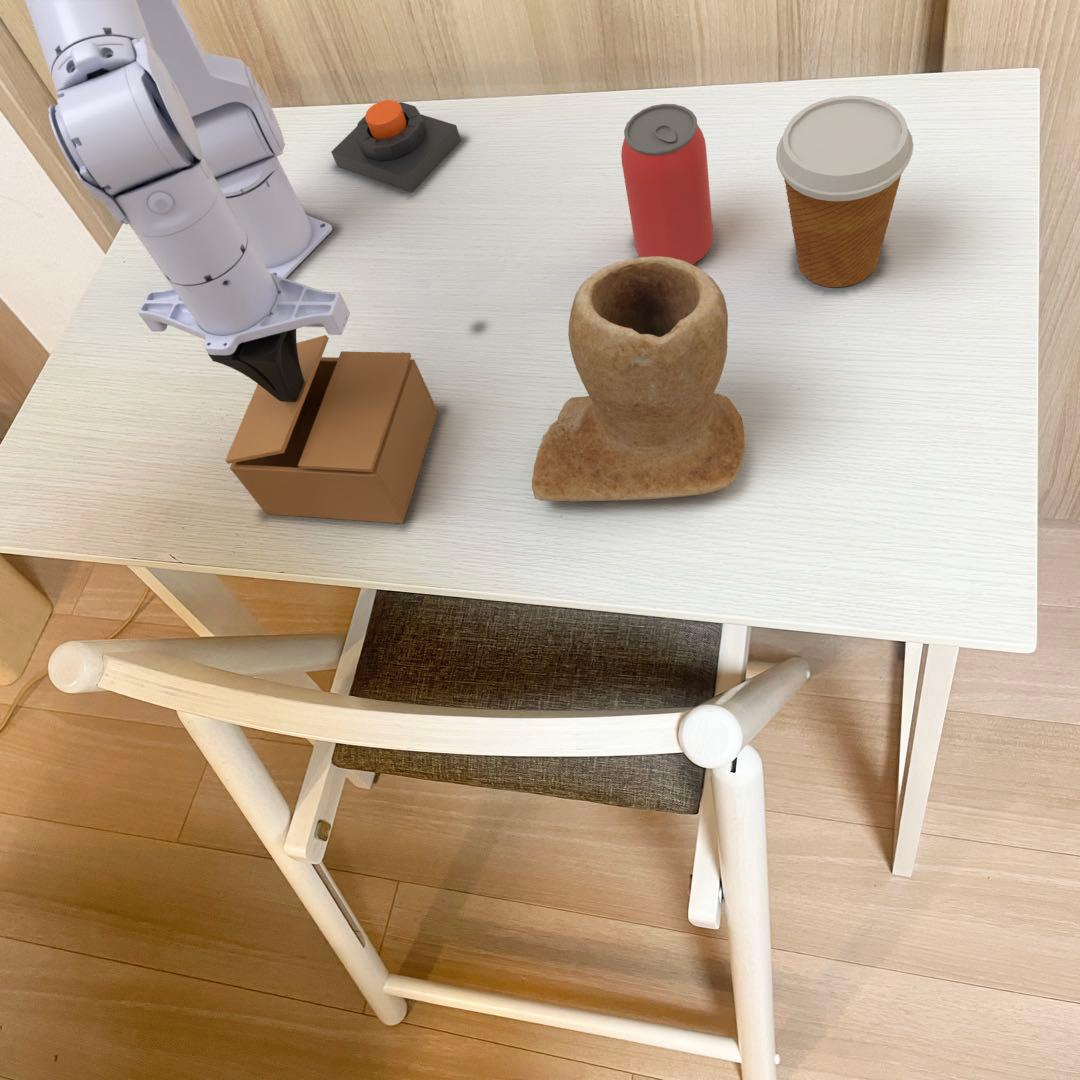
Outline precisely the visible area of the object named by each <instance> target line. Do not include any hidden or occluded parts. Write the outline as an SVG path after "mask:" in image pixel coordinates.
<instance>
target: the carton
mask: <svg viewBox="0 0 1080 1080" xmlns="http://www.w3.org/2000/svg"><path fill="white" fill-rule="evenodd" d="M432 397H433V396H432V395H431V392H430V390H429V388H428V386H427V384H426V382H425V380H424V377H423V375H422V373H421V371H420V369H419V367H418V364H417V362H416V360H415V359H413V358H412V355H411V352H390V351H389V352H387V351H385V352H384V351H348V350H347V351H346V350H345V351H343V350H341V351H340V353H339V356H338V357H333V356H332V357H329V356H328V357H326V356H322V357H321V360H320V362H319V365H318V367H317V370H316V373H315V375H314V378H313V380H312V383H311V385H310V388H309V391H308V393H307V396H306V398H305V401H304V403H303V406H302V408H301V411H300V414H299V416H298V419H297V421H296V424H295V426H294V429H293V431H292V434H291V437H290V439H289V442H288V444H287V447H286V449H285V452H284V453H281V454H276V455H271V456H266V457H261V458H256V459H251V460H245V461H240V462H235V463H230V466H229V469H230V470H231V472H232V473H233V474H234V475H235V477H236V479H238V480H239V482H240V483H241V484H242V486H243V487H244V488H245V489H246V490H247V492H248V493H249V494H250V495H251V497H252V498H253V499H254V501H255V502H256V504H257V505H258V506H259V507H260V508H261V509H262V511H263V512H264V513H265V514H266V515H273V516H274V515H275V516H277V515H278V516H287V517H288V516H289V517H302V518H303V517H305V518H315V519H316V518H318V519H333V520H344V521H359V522H374V523H388V524H401V525H402V524H404V522H405V519H406V515H407V513H408V509H409V506H410V503H411V500H412V496H413V494H414V491H415V487H416V484H417V481H418V477H419V474H420V471H421V467H422V465H423V464H422V463H423V461H424V458H425V455H426V451H427V449H428V444H429V442H430V438H431V436H432V432H433V428H434V426H435V422H436V420H437V415H438V412H439V410H438V408H437V406H436V404H435V402H434V400H433V398H432Z"/></svg>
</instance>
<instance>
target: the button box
mask: <svg viewBox="0 0 1080 1080" xmlns="http://www.w3.org/2000/svg"><path fill="white" fill-rule="evenodd" d="M397 102H398V101H397ZM398 103H399V104H400V105H401V108H402V110H403V113H404V116H405V119H406V122H407V125H406V128H405V129H404V130H403V131H402V132H401V133H400V134H398V135H396V136H394V137H392V138H387V139H376V138H374V137H373V136H372V134H371V132H370V129H369V127H368V124H367V122H366V119H365V115H364V116H363V117H362V118H361V119H360V120H359V121H358V122H357V125H356V127H355V128H354V129H353V130H352V131H351V132H349V133H348V135H346V136H345V137H344V138H343V139H342V140H341V141H340V142H339V144H337V145H336V146H335V147H334V148H333V149H332V150H331V151H330V153H331V155H332V157H333V160H334V162H335V164H336V166H337V168H339V169H342V170H344V171H345V170H346V171H348V172H351V173H354V174H356V175H359V176H362V177H365V178H368V179H371V180H374V181H376V182H380V183H382V184H385V185H387V186H391V187H393V188H396V189H399V190H402V191H404V192H407V193H411V194H412V193H413V192H414V191H416V189H417V188H418V187H419V186H420V185H421V184H422V182H423V181H425V180H426V178H428V177H429V175H430V174H431V173H432V172H433V171H434V170H435V169H436V168H438V166H439V165H440V164H441V163H442V162H443V161H444V159H445V158H447V156H449V154H451V152H452V151H453V150H455V148H456V147H457V146H459V144H460V143H461V142H462V138H461V136H460V135H461V134H460V132H459V130H458V126H457V124H454V123H451V122H447V121H444V120H441V119H437V118H434V117H431V116H429V115H424V114H421V113H420V111H419V109H418V108H417V107H416V106H415V105H413V104H410V103H405V102H402V101H400V102H398Z"/></svg>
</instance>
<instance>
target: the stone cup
mask: <svg viewBox="0 0 1080 1080" xmlns="http://www.w3.org/2000/svg"><path fill="white" fill-rule="evenodd" d="M728 327H729V314H728V309H727V303H726V299H725V296H724V293H723V291H722V290H721V288H720V286H719V285H718V284H717V282H716V281H715V280H714V278H713V277H711V275H709V274H707V273H706V272H705V271H704V270H703V269H701V268H700V267H698V266H696V265H695V264H693V265H692V264H690V263H688V262H686V261H682V260H679V259H675V258H671V257H662V256H654V257H639V256H638V257H633V258H628V259H627V258H626V259H623V260H620V261H617V262H614V263H612V264H609V265H607V266H604V267H602V268H600V269H598V270H597V271H596V272H594V273H593V274H592V275H590V276H589V277H587V278H586V279H585V280H584V282H583V283H582V284H581V285H580V286H579V287H578V289H577V291H576V293H575V295H574V298H573V302H572V306H571V310H570V315H569V320H568V331H567V335H568V342H569V349H570V352H571V353H570V354H571V356H572V360H573V363H574V365H575V369H576V371H577V374H578V376H579V378H580V380H581V383H582V384H583V387H584V389H585V391H586V392H587V394H588V395H584V396H574V397H570V398H569V399H567V401H566V402H564V403H563V405H562V408H561V410H560V411H559V414H558V415H557V419H556V420H555V421H554V422H553V423H552V424H550V426H549V427H548V429H547V431H546V432H545V433H544V434H543V435H542V439H541V442H540V444H539V448H538V451H537V454H536V459H535V461H534V465H533V472H532V478H531V480H532V481H531V489H532V493H533V497H534V499H535V500H537V501H539V502H540V501H543V502H544V501H546V502H602V501H603V502H605V501H607V502H609V501H634V500H654V499H655V500H656V499H669V498H680V497H689V496H699V495H706V494H710V493H714V492H717V491H721V490H724V489H726V488H727V487H729V486H731V485H732V484H733V483H734V482H735V480H736V479H737V477H738V475H739V473H740V470H741V467H742V465H743V461H744V456H745V451H746V435H745V434H746V432H745V428H744V422H743V418H742V416H741V414H740V412H739V411H738V409H737V408H736V406H735V405H734V403H733V402H732V401H731V399H730V398H729V397H727V396H725V395H722V394H719V393H715V391H716V389H717V387H718V385H719V383H720V380H721V377H722V374H723V371H724V368H725V364H726V359H727V355H728V329H729V328H728Z"/></svg>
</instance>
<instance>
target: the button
mask: <svg viewBox="0 0 1080 1080" xmlns="http://www.w3.org/2000/svg"><path fill="white" fill-rule="evenodd" d="M364 116H365V119H366V122H367V124H368V127H369V129H370V132H371V134H372V136H373V137H374V138H376V139H387V138H392V137H394V136H396V135H398V134H400V133H401V132H402V131H403V130H404V129H405V128H406V125H407V122H406V119H405V116H404V113H403V110H402V108H401V105H400V104H399V103H398V101H397V100H393V99H386V100H381V101H379V102H376V103H374V104H373V105H371V106H370V107H369V108H368V109H367V110H366V112H365V115H364Z"/></svg>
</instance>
